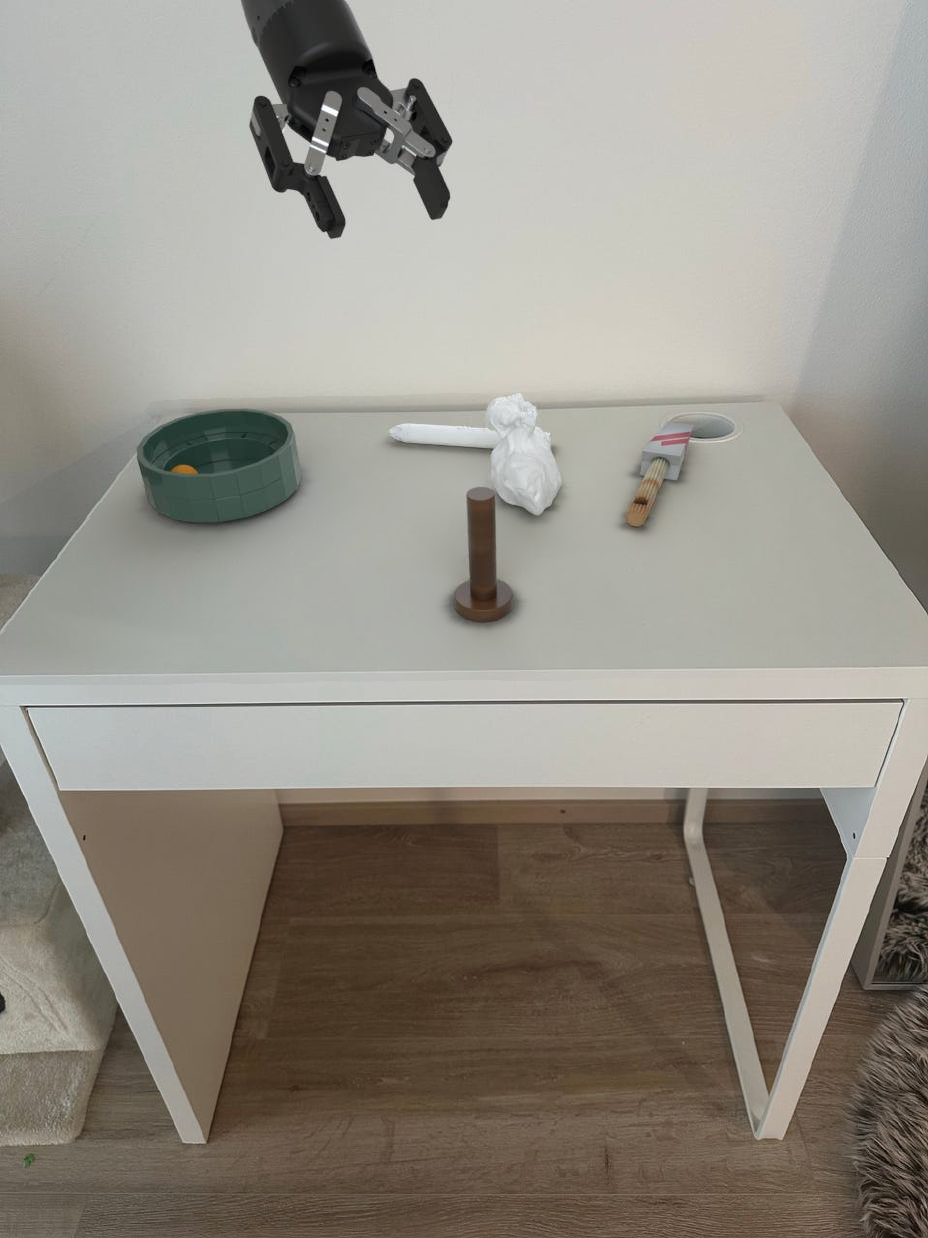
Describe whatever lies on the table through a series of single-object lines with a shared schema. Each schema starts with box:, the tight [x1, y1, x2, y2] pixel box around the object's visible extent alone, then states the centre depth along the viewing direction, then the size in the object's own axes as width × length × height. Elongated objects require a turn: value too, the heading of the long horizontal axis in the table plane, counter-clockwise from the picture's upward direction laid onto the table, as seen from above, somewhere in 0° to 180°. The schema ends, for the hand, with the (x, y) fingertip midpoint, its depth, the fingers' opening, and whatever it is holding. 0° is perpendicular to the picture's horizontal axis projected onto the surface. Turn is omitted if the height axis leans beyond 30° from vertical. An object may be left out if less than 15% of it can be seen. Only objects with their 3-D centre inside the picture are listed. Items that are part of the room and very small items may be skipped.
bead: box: [171, 465, 198, 474], centre depth 93 cm, size 3×3×3 cm
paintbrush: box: [625, 421, 694, 528], centre depth 93 cm, size 4×3×20 cm
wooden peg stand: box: [454, 486, 514, 623], centre depth 74 cm, size 5×5×10 cm
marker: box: [387, 422, 552, 450], centre depth 101 cm, size 18×2×2 cm, turn 77°
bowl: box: [136, 408, 302, 523], centre depth 94 cm, size 15×15×6 cm
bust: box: [483, 392, 563, 516], centre depth 90 cm, size 12×8×11 cm
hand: (391, 222), depth 69 cm, fingers open, 8 cm apart
